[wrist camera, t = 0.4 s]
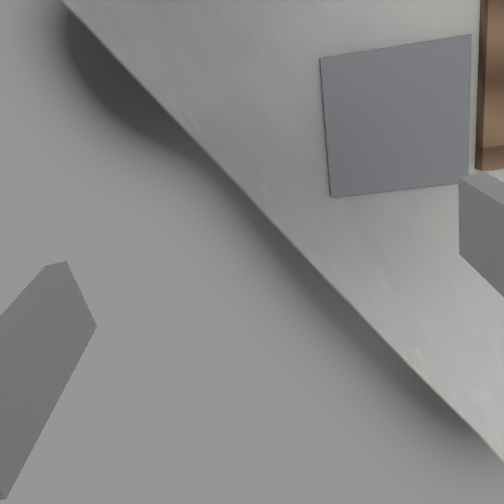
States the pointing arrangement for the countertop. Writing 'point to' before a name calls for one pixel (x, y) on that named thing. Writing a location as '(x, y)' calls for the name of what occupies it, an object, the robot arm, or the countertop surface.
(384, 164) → the mat
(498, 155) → the board
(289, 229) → the countertop surface
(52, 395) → the robot arm
